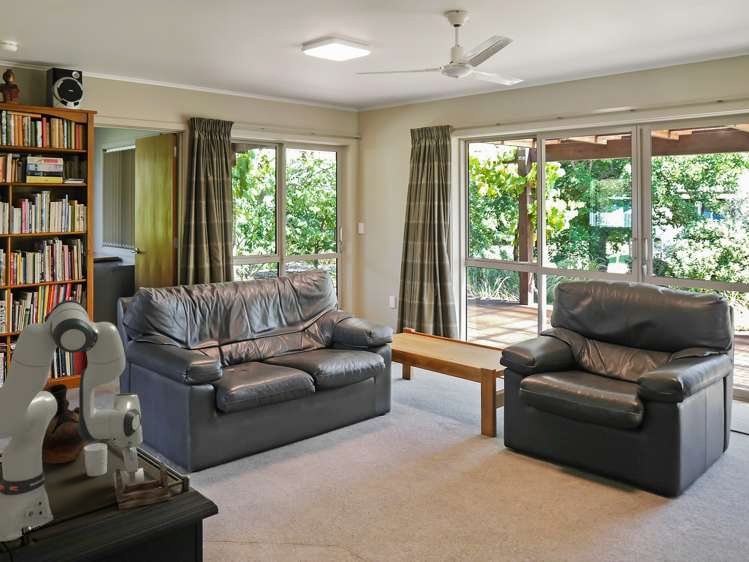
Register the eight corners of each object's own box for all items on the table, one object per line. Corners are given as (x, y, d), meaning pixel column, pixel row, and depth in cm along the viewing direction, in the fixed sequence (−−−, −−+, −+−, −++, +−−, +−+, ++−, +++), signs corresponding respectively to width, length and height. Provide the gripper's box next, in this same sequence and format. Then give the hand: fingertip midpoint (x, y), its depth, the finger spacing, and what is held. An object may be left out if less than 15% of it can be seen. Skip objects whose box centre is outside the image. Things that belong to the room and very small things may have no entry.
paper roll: (115, 491, 236) (114, 476, 235) (113, 485, 241) (112, 470, 240) (144, 486, 240) (144, 471, 239) (142, 480, 245) (142, 465, 244)
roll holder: (119, 509, 221) (117, 481, 220) (115, 494, 233) (114, 467, 232) (170, 500, 228) (169, 472, 227) (164, 485, 240) (163, 459, 239)
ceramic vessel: (84, 448, 277) (80, 376, 274) (98, 461, 264) (94, 384, 261) (27, 461, 264) (22, 385, 261) (39, 475, 251) (34, 395, 247)
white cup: (112, 469, 255) (110, 443, 254) (101, 477, 248) (100, 450, 247) (92, 468, 256) (90, 442, 255) (81, 477, 248) (79, 450, 247)
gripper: (141, 446, 230) (143, 485, 231) (136, 428, 248) (138, 465, 250) (120, 449, 227) (123, 489, 229) (117, 431, 246) (120, 468, 247)
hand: (131, 476), depth 239 cm, fingers open, 8 cm apart
